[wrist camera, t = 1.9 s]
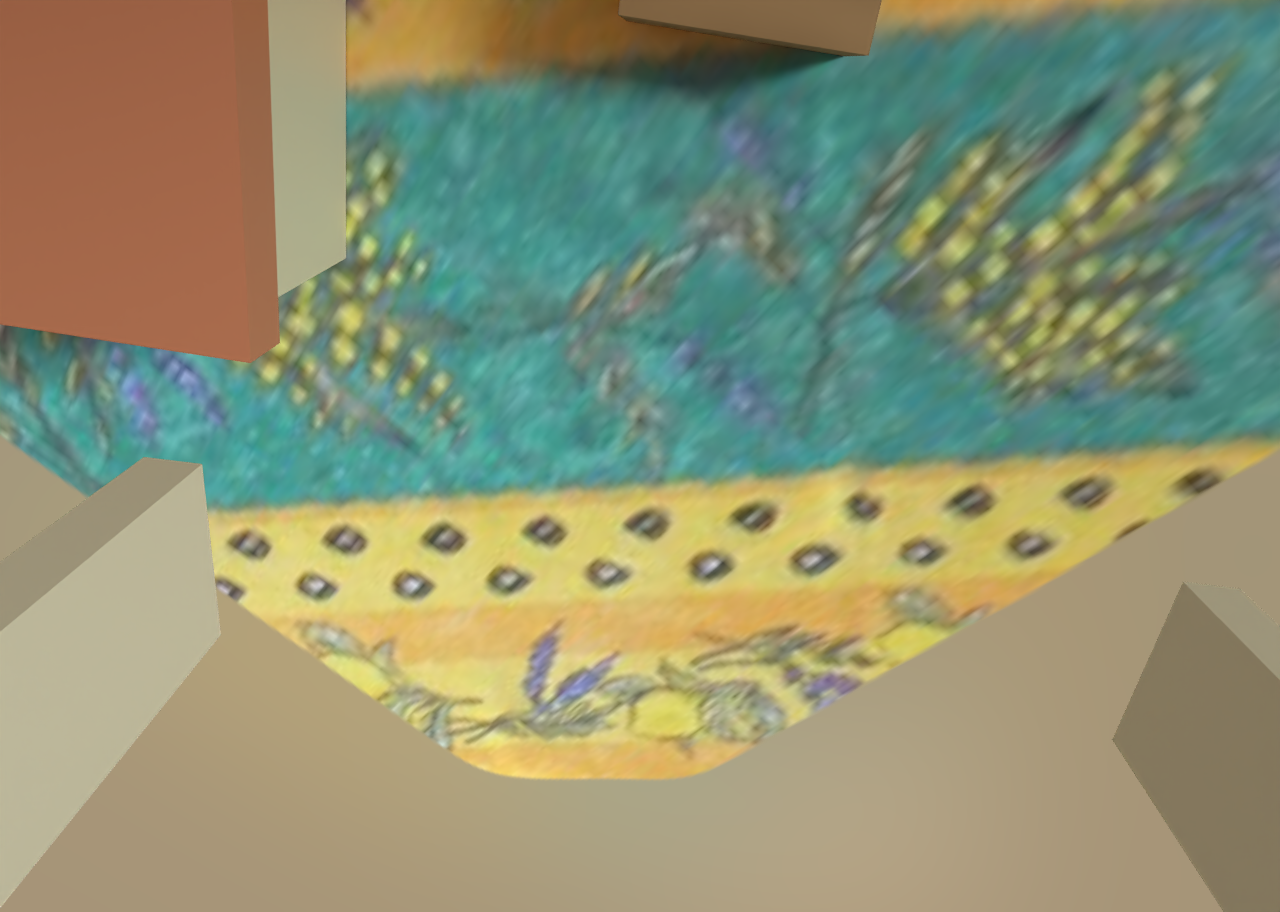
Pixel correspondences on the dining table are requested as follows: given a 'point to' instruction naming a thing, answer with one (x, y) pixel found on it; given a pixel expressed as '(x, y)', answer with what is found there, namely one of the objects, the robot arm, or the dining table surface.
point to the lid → (139, 173)
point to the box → (308, 135)
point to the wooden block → (768, 21)
